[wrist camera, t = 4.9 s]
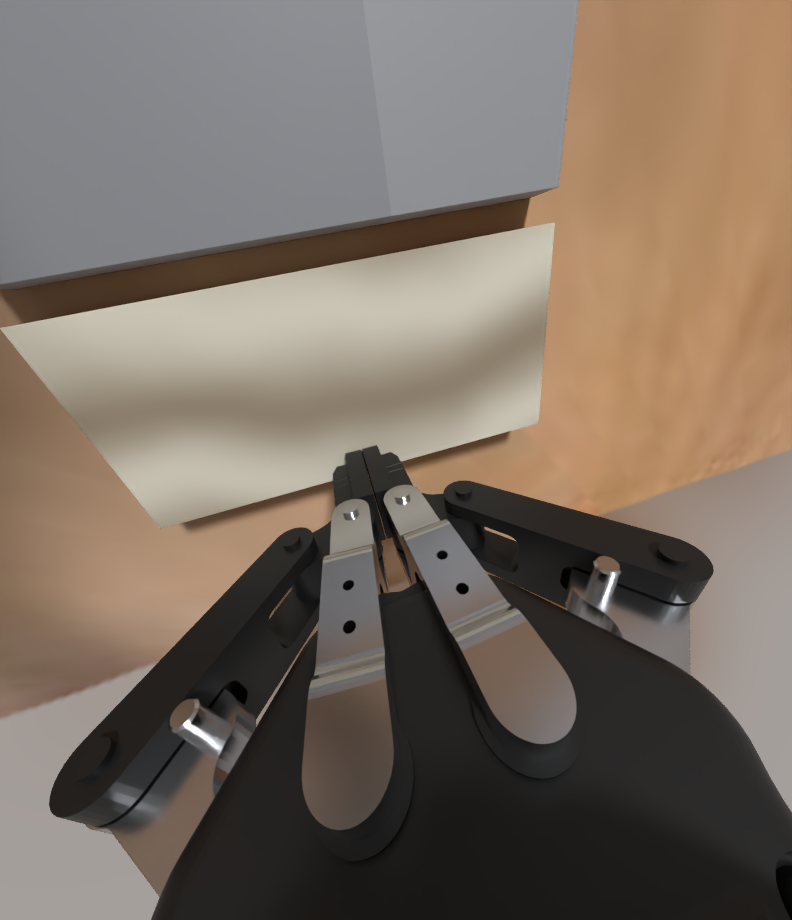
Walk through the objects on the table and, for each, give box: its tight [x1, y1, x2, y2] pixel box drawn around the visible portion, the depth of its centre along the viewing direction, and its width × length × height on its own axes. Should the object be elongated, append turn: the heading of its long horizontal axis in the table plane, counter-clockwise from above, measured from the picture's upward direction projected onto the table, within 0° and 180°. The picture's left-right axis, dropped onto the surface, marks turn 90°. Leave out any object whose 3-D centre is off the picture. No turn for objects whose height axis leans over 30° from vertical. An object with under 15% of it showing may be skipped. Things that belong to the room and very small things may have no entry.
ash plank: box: [0, 222, 555, 529], centre depth 12 cm, size 8×18×2 cm, turn 100°
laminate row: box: [0, 0, 579, 290], centre depth 7 cm, size 8×18×2 cm, turn 100°
